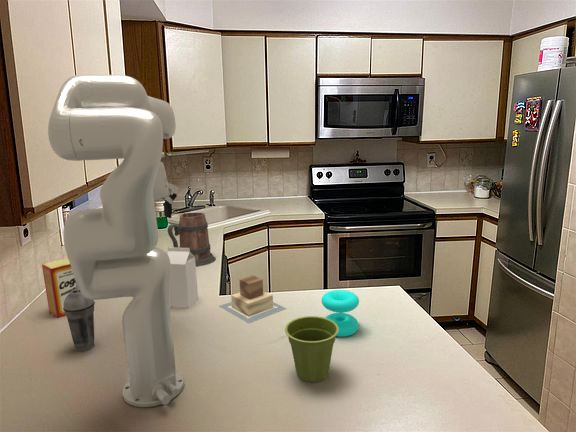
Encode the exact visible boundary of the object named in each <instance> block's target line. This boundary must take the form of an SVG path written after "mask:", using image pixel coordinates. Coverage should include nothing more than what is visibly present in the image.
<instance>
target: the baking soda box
mask: <svg viewBox="0 0 576 432" xmlns="http://www.w3.org/2000/svg"><path fill="white" fill-rule="evenodd" d="M41 268H42V274H43V275H42V276H43V280H44V286H45V288H44V289H45V293H46V299H47V305H48V312H50V313H49V314H51V313H52V314H53V315H52V314H51V315H52V316H54V317H55V316H56V318H57V319H60V318H64V317H66V315H65V312H64V310H63V308H64V300H65V298H66V297H67V295H68V294H69V293H71V292H72V291H74V290H76V281H75V276H74V273H73V271H72V268H71V265H70V262H69V259H68V258H64V259H57V260H54V261H53V260H52V261H51V262H50V261H49V262H47V263H43V264H42V265H41Z"/></svg>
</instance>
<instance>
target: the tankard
mask: <svg viewBox="0 0 576 432" xmlns="http://www.w3.org/2000/svg"><path fill="white" fill-rule="evenodd" d="M208 224H209V223H208V221H207V219H206V214H205V213H204V212H185V213H181V214H180V216H179V223H178V225H177V224H174V223H173V224H170V225H169V226H168V228H167V234H168V236H169V238H170V239H171V242H172V245H173V248H190V252H191V253H192V254H193V256H194V257H195V264H196V268H197V267H203V266H208V265H210V264H213V263H215V262H216V260H217V259H216V257H215V256H214V254H213V253H212V252H211V243H210V239H209V225H208ZM173 231H174V233H173ZM177 236H179V242H178V241H177V238H176V237H177Z"/></svg>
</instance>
